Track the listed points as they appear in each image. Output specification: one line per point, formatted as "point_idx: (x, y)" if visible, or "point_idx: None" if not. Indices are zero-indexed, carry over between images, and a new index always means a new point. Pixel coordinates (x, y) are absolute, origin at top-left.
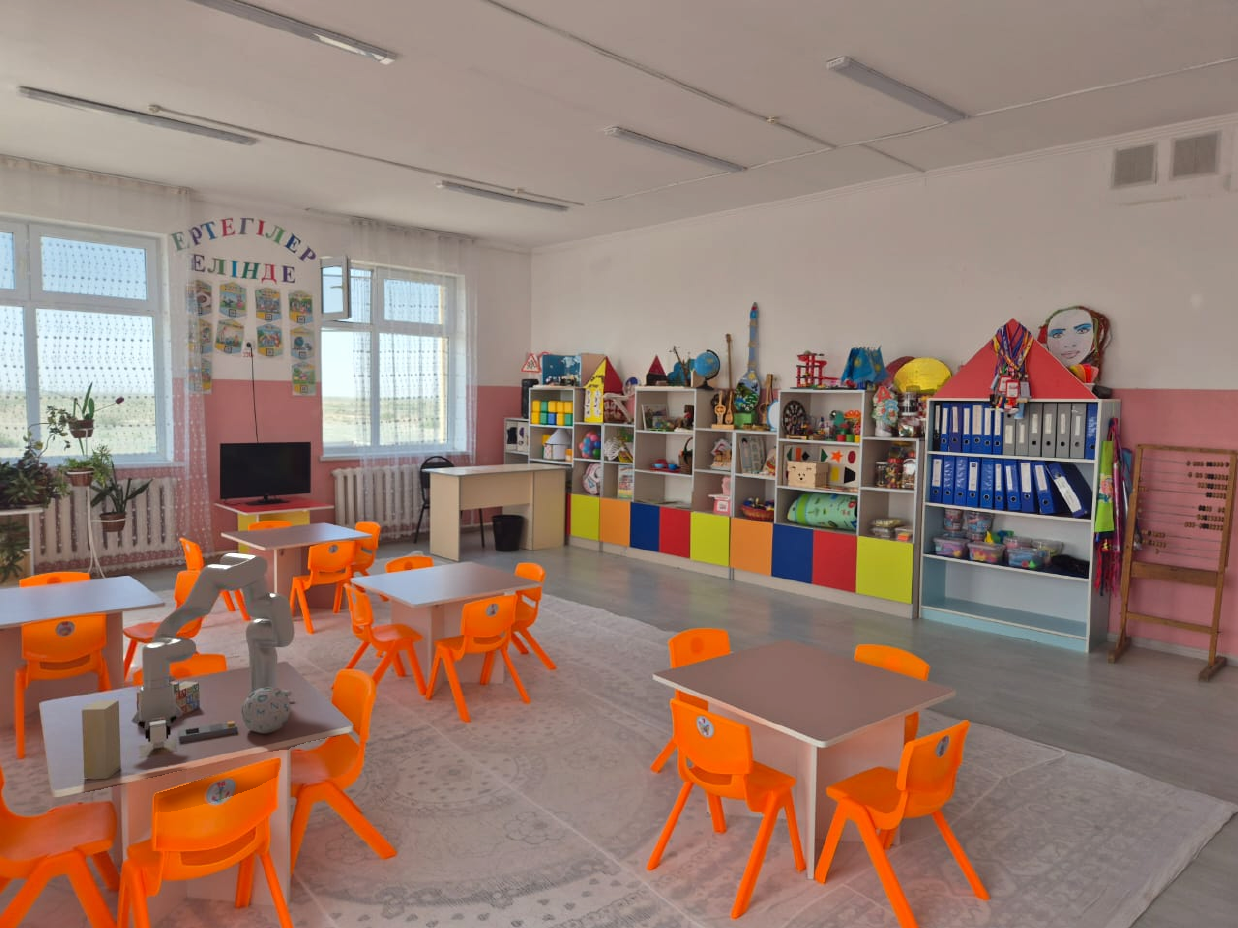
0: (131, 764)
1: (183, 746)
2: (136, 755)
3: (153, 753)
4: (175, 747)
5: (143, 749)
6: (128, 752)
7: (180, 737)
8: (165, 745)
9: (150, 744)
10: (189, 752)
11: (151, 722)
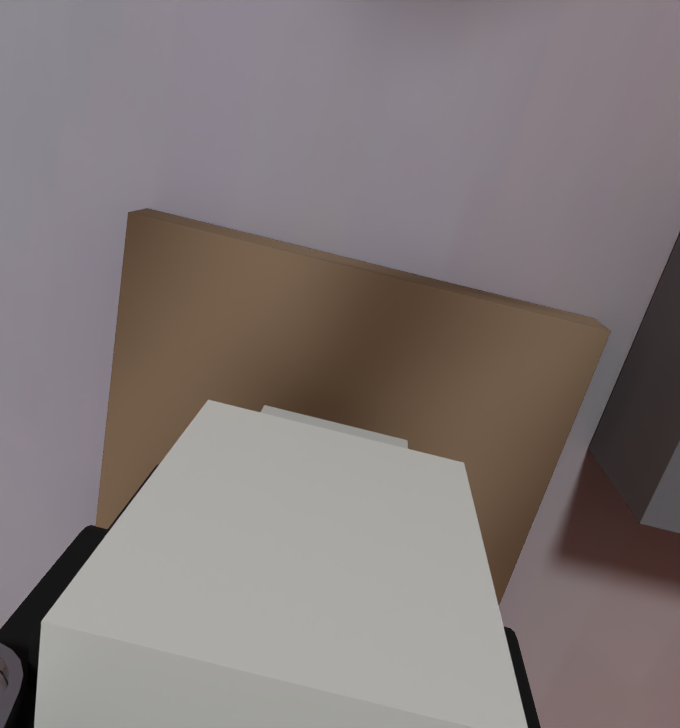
0: (20, 604)
1: (611, 506)
2: (86, 404)
3: None
4: (494, 586)
5: (154, 387)
6: (6, 231)
7: (650, 513)
8: (423, 443)
9: (270, 255)
10: (575, 700)
11: (97, 656)
